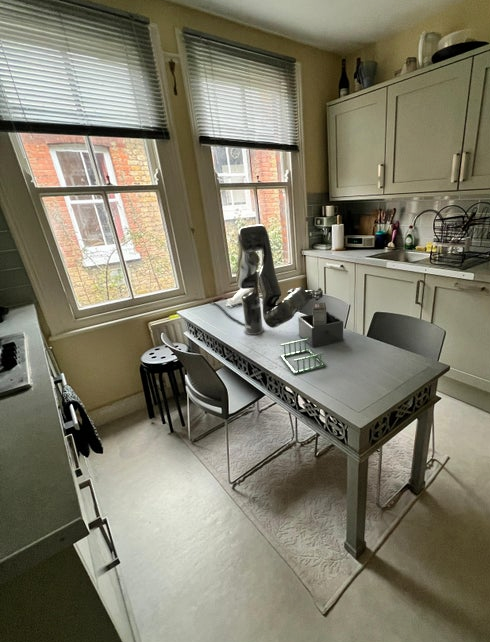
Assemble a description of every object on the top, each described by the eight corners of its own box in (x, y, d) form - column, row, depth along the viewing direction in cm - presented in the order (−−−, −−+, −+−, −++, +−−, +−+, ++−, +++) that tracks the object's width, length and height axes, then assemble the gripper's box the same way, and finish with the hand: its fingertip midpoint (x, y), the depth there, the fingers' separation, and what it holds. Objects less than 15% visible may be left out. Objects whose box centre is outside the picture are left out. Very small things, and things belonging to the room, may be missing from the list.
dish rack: (280, 357, 142) (279, 344, 139) (309, 350, 146) (308, 338, 144) (294, 374, 128) (293, 360, 125) (325, 366, 132) (325, 353, 130)
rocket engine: (222, 294, 205) (245, 282, 213) (220, 301, 215) (242, 290, 223) (232, 308, 204) (254, 296, 212) (229, 315, 214) (251, 303, 222)
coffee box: (313, 332, 163) (312, 302, 156) (325, 331, 163) (325, 302, 156) (314, 339, 154) (313, 308, 148) (327, 339, 154) (326, 308, 148)
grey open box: (299, 334, 163) (298, 316, 159) (327, 328, 169) (327, 311, 165) (312, 347, 149) (311, 327, 145) (343, 340, 155) (343, 321, 151)
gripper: (313, 292, 121) (326, 281, 134) (279, 290, 126) (295, 280, 139) (313, 311, 124) (326, 298, 137) (280, 308, 129) (296, 296, 143)
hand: (310, 289), depth 138 cm, fingers open, 8 cm apart
